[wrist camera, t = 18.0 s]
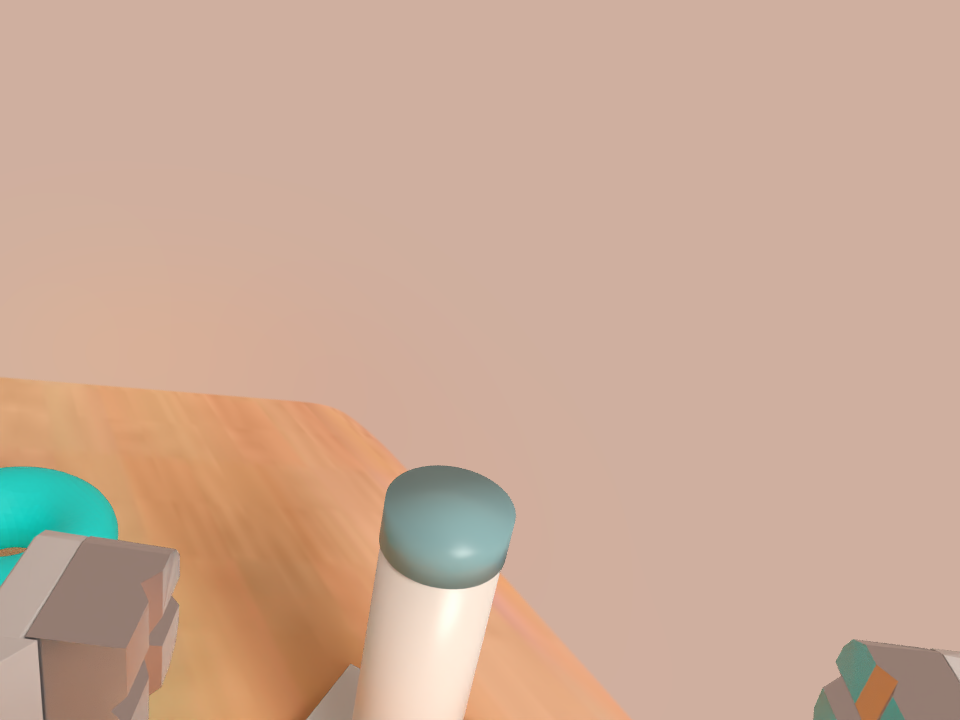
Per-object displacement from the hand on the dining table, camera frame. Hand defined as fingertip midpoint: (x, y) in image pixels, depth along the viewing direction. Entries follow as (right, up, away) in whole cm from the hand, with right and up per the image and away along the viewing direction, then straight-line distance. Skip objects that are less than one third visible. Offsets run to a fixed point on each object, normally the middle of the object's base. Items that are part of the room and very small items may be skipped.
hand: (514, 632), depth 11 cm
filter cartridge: (-5, -18, +33) cm, 38 cm away
